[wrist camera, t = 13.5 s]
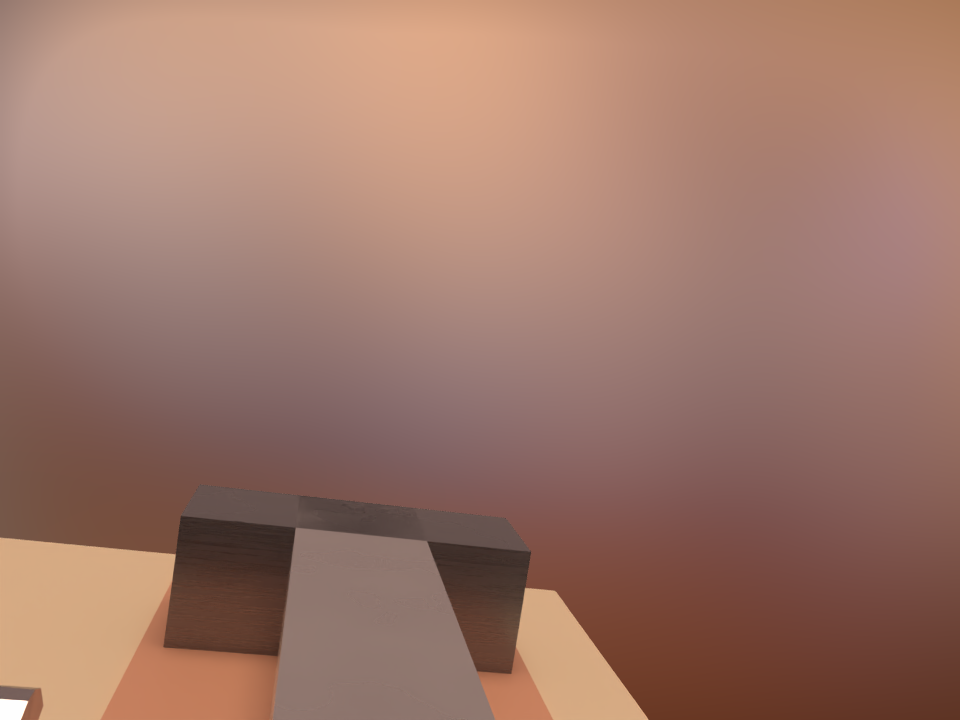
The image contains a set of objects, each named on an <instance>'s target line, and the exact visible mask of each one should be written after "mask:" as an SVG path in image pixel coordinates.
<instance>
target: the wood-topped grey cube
mask: <svg viewBox="0 0 960 720" xmlns="http://www.w3.org/2000/svg"><path fill="white" fill-rule="evenodd" d="M175 556H176V555H175V554H164V553H153V552H144V551H143V552H142V551H133V550H122V549H112V548H102V547H91V546H81V545H70V544H60V543H49V542H39V541H28V540H18V539H8V538H0V685H5V686H19V687H33V688H41V692H42V699H43V705H44V706H43V708H42V711H41V714H40V717H39V719H38V720H269V719H270V711H271V703H272V695H273V687H274V679H275V672H276V664H277V656H270V655H256V654H243V653H230V652H217V651H204V650H191V649H178V648H165V647H163V646H164V639H165V631H166V624H167V616H168V609H169V601H170V594H171V586H172V579H173V571H174V564H175ZM477 673H478V676H479V678H480V681H481V684H482V686H483V689H484V692H485V694H486V697H487V699H488V702H489V705H490V707H491V710H492V712H493V715H494V718H495V720H648V718H647V717H646V715H645V714H644V713H643V711H642V710H641V709H640V707H639V706H638V704H637V703H636V702H635V700H634V699H633V698H632V696H631V695H630V694H629V692H628V691H627V689H626V688H625V687H624V685H623V684H622V682H621V681H620V680H619V678H618V677H617V676H616V674H615V673H614V672H613V670H612V669H611V667H610V666H609V664H608V663H607V662H606V660H605V659H604V658H603V656H602V655H601V653H600V652H599V651H598V649H597V648H596V647H595V645H594V644H593V642H592V641H591V640H590V638H589V637H588V636H587V634H586V633H585V631H584V630H583V629H582V627H581V626H580V624H579V623H578V622H577V620H576V619H575V618H574V616H573V615H572V613H571V612H570V611H569V609H568V608H567V607H566V605H565V604H564V602H563V601H562V600H561V598H560V597H559V596H558V594H557V593H556V591H550V590H540V589H529V588H525V593H524V599H523V605H522V611H521V618H520V624H519V630H518V636H517V642H516V649H515V655H514V661H513V667H512V674H504V673H491V672H478V671H477Z"/></svg>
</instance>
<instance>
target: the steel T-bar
mask: <svg viewBox="0 0 960 720" xmlns="http://www.w3.org/2000/svg"><path fill="white" fill-rule="evenodd" d="M530 555H531V551H530V550H529V549H528V547H527V546H526V545H525V543H524V542H523V540H522V539H521V538H520V536H519V535H518V534H517V532H516V531H515V530H514V528H513V527H512V526H511V524H510V523H509V522H508V520H507V519H506V518H499V517H491V516H482V515H473V514H463V513H454V512H444V511H435V510H427V509H417V508H408V507H400V506H391V505H381V504H372V503H363V502H354V501H344V500H335V499H327V498H317V497H308V496H299V495H290V494H280V493H271V492H262V491H253V490H244V489H235V488H226V487H216V486H208V485H199V487H198V489H197V490H196V492H195V494H194V495H193V497H192V498H191V500H190V502H189V504H188V505H187V507H186V508H185V510H184V512H183V513H182V515H181V520H180V527H179V534H178V542H177V549H176V556H175V564H174V571H173V579H172V586H171V594H170V601H169V609H168V616H167V624H166V631H165V639H164V646H163V647H165V648H178V649H191V650H204V651H217V652H230V653H243V654H256V655H270V656H277V664H276V672H275V679H274V687H273V695H272V703H271V711H270V719H269V720H495V718H494V715H493V712H492V710H491V707H490V705H489V702H488V699H487V697H486V694H485V692H484V689H483V686H482V684H481V681H480V678H479V676H478V673H477V671H478V672H491V673H504V674H512V667H513V661H514V655H515V649H516V642H517V636H518V630H519V624H520V618H521V611H522V605H523V599H524V593H525V586H526V580H527V574H528V568H529V561H530Z"/></svg>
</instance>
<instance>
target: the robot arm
mask: <svg viewBox="0 0 960 720" xmlns="http://www.w3.org/2000/svg"><path fill="white" fill-rule="evenodd" d="M43 706H44V705H43V699H42V692H41V688H33V687H19V686H5V685H0V720H38V719H39V717H40V714H41V711H42V708H43Z"/></svg>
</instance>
